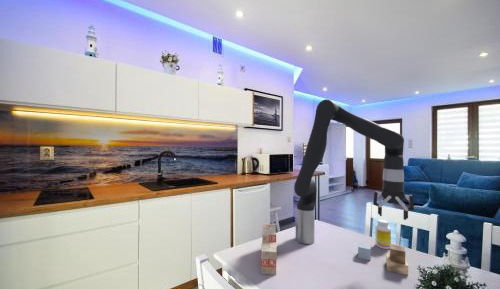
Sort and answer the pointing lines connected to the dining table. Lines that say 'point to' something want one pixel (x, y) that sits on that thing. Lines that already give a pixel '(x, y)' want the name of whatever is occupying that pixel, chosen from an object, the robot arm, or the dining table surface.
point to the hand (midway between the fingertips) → (392, 217)
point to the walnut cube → (397, 253)
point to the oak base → (396, 266)
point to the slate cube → (364, 251)
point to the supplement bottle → (383, 234)
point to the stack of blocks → (268, 250)
